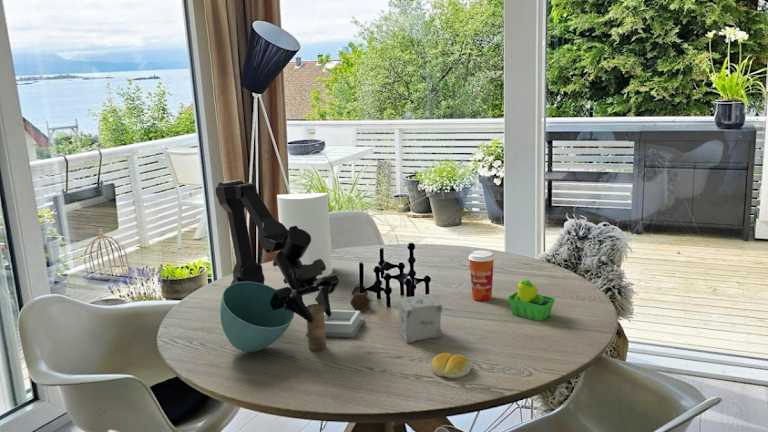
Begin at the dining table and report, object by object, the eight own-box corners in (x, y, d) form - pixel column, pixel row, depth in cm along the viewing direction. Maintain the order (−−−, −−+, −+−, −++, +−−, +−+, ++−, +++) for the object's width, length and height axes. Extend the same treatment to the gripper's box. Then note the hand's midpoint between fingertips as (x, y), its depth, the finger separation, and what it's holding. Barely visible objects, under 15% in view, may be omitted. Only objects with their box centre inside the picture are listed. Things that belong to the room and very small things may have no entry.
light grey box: (407, 345, 173) (406, 306, 171) (397, 333, 181) (396, 296, 179) (443, 339, 176) (442, 301, 174) (432, 328, 184) (431, 291, 181)
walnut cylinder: (306, 350, 172) (303, 309, 170) (311, 343, 177) (309, 303, 174) (323, 351, 171) (320, 310, 169) (328, 344, 176) (325, 304, 173)
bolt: (362, 299, 215) (363, 314, 200) (348, 292, 214) (348, 307, 199) (370, 283, 214) (372, 297, 199) (356, 276, 213) (357, 290, 198)
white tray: (306, 335, 182) (305, 323, 182) (319, 319, 194) (318, 307, 193) (353, 337, 180) (352, 324, 179) (363, 320, 191) (363, 309, 190)
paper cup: (466, 301, 203) (465, 256, 200) (472, 293, 210) (472, 249, 207) (492, 303, 200) (491, 257, 197) (497, 295, 207) (497, 251, 204)
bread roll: (441, 361, 164) (440, 345, 163) (475, 368, 159) (475, 352, 158) (424, 374, 157) (423, 358, 156) (459, 382, 152) (459, 365, 151)
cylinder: (330, 279, 230) (325, 197, 224) (279, 281, 231) (272, 199, 225) (334, 264, 247) (329, 188, 241) (286, 266, 248) (281, 190, 242)
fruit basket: (556, 315, 189) (556, 276, 187) (539, 325, 183) (540, 284, 180) (520, 307, 197) (520, 269, 194) (503, 315, 190) (503, 277, 188)
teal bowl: (243, 375, 163) (258, 336, 158) (194, 330, 170) (207, 291, 165) (292, 351, 178) (308, 315, 173) (245, 310, 185) (259, 274, 180)
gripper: (271, 258, 166) (300, 311, 159) (333, 243, 178) (362, 292, 171) (257, 284, 173) (285, 335, 167) (318, 268, 185) (346, 315, 179)
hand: (321, 318), depth 171 cm, fingers open, 5 cm apart
